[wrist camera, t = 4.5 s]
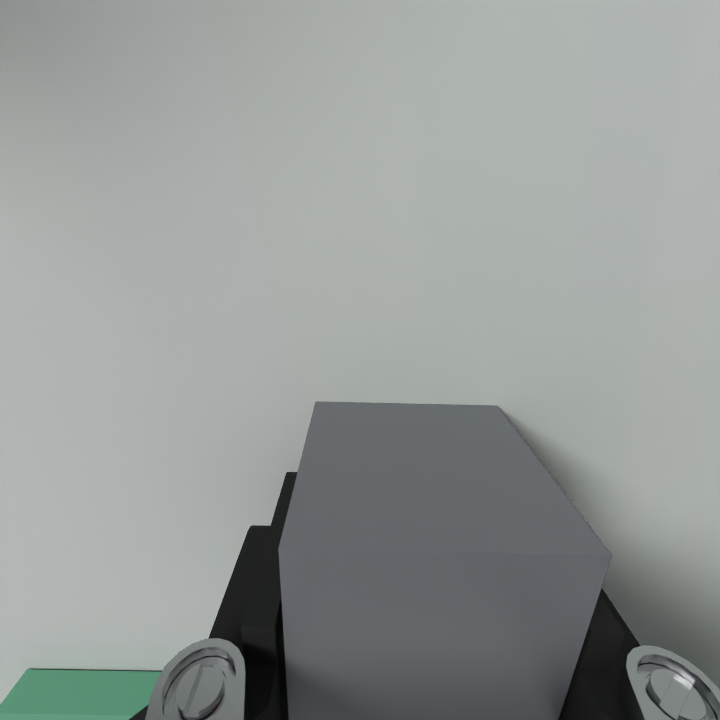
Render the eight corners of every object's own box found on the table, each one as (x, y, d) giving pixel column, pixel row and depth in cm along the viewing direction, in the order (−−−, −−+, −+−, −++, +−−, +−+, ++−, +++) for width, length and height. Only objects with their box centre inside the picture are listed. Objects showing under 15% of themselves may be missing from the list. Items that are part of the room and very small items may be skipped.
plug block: (497, 405, 9) (612, 555, 5) (467, 588, 11) (530, 803, 7) (315, 401, 9) (278, 549, 5) (318, 585, 11) (293, 800, 7)
